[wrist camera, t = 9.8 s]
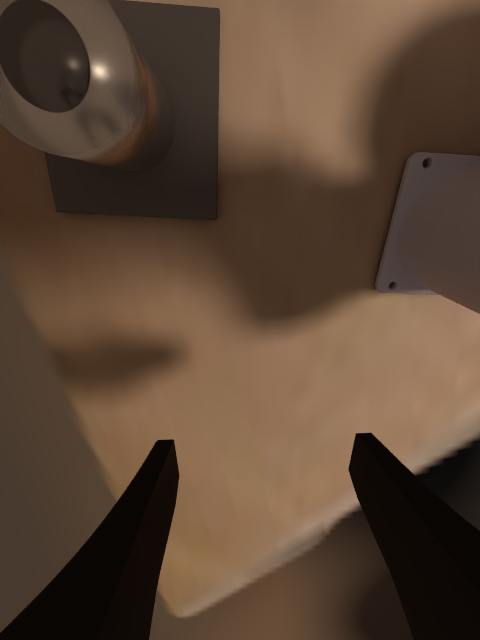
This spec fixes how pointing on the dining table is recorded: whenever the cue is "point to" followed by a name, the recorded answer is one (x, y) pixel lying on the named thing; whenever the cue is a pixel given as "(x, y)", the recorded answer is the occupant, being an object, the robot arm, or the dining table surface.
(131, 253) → the dining table surface
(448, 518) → the robot arm
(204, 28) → the rubber mat
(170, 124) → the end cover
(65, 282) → the dining table surface
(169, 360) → the dining table surface
